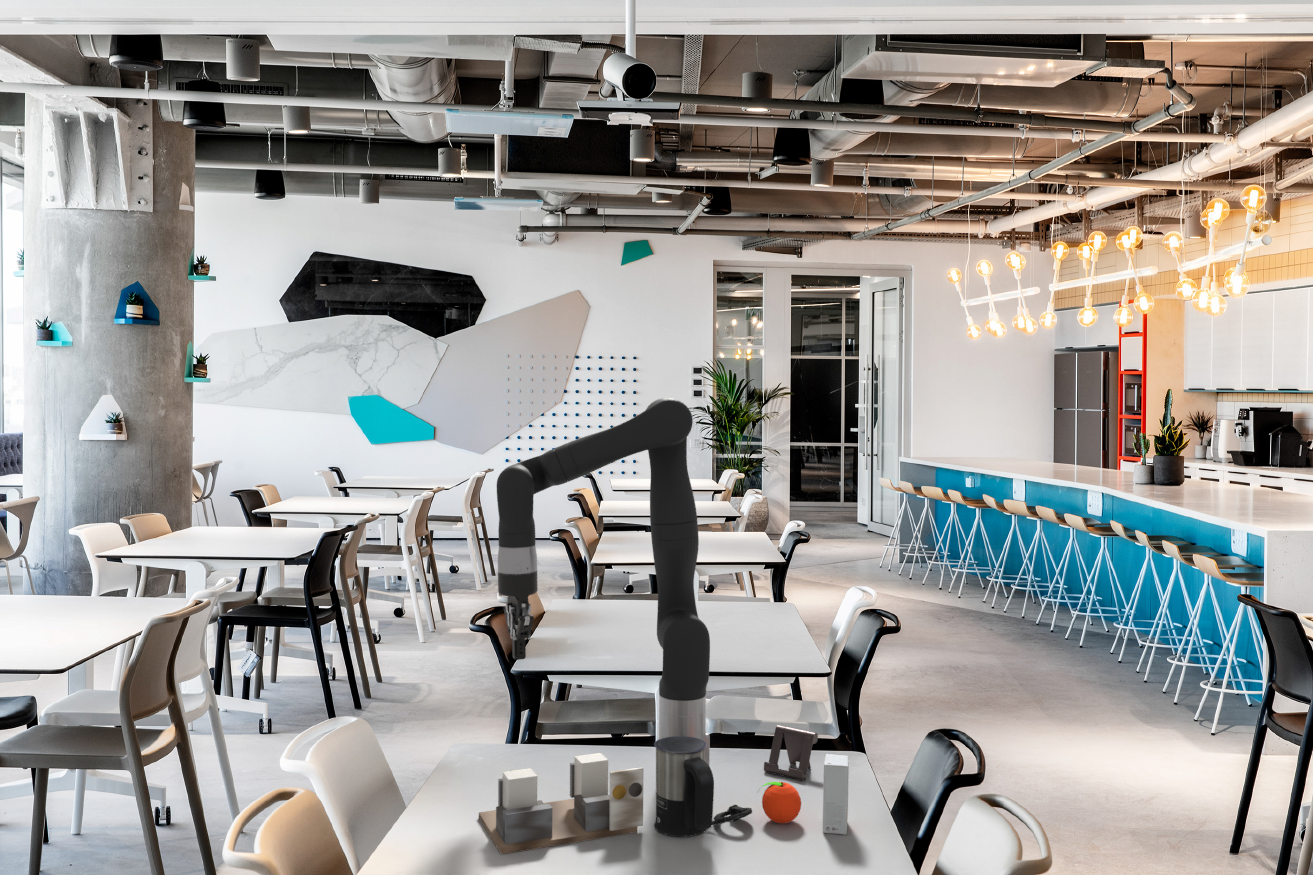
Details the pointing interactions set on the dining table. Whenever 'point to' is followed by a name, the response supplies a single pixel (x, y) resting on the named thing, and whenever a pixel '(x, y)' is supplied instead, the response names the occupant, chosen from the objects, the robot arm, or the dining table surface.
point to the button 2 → (589, 776)
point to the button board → (570, 817)
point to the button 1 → (517, 789)
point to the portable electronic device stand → (791, 751)
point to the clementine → (781, 802)
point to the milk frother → (686, 789)
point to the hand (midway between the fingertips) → (519, 658)
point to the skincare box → (835, 794)
